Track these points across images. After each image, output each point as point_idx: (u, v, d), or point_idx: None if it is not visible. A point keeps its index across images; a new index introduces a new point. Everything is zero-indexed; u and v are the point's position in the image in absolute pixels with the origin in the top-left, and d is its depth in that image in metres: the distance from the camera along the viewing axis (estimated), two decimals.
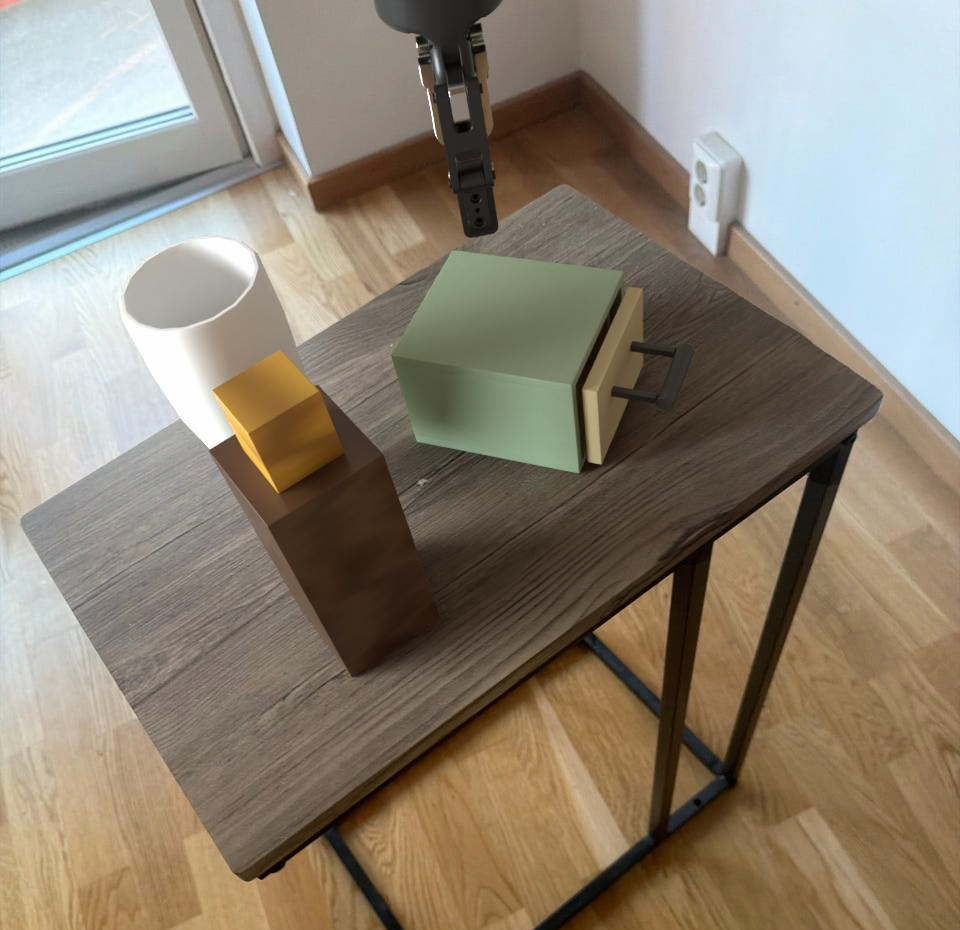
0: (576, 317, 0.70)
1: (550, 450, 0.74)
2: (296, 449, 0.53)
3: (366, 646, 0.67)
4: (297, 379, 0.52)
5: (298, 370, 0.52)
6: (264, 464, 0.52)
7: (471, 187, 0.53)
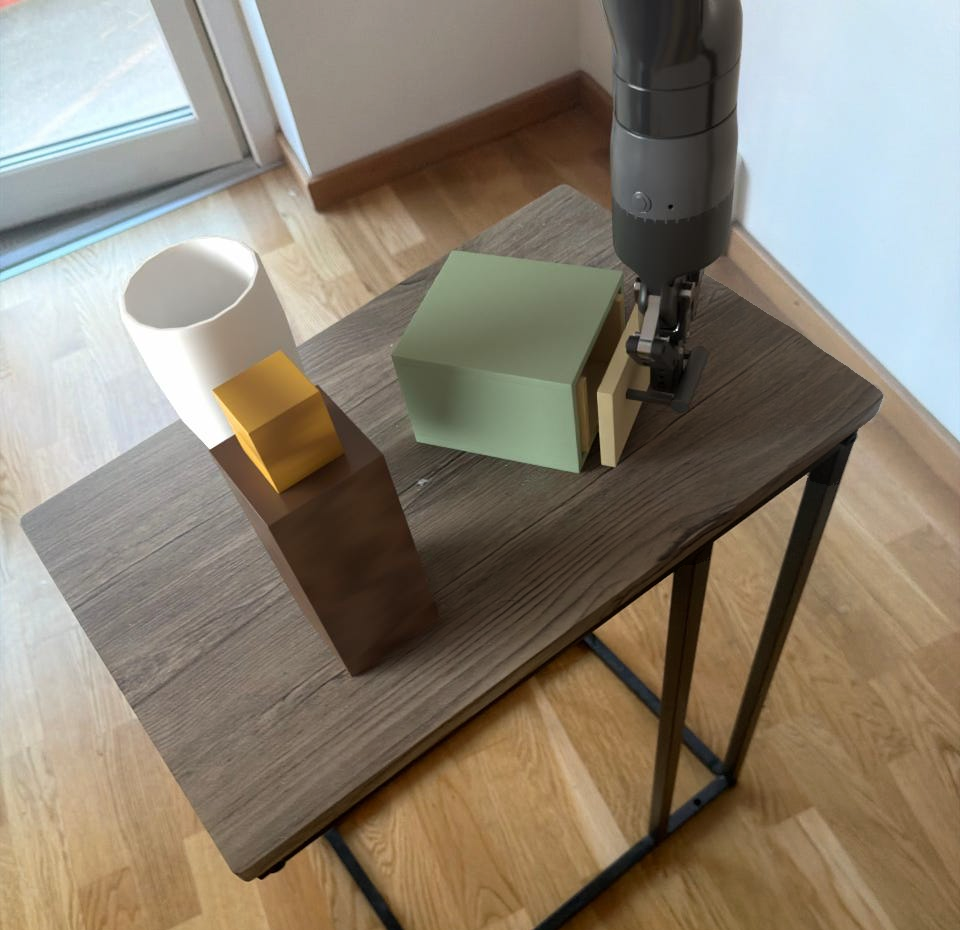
0: (576, 317, 0.70)
1: (550, 450, 0.74)
2: (296, 449, 0.53)
3: (366, 646, 0.67)
4: (297, 379, 0.52)
5: (298, 370, 0.52)
6: (264, 464, 0.52)
7: (653, 366, 0.66)
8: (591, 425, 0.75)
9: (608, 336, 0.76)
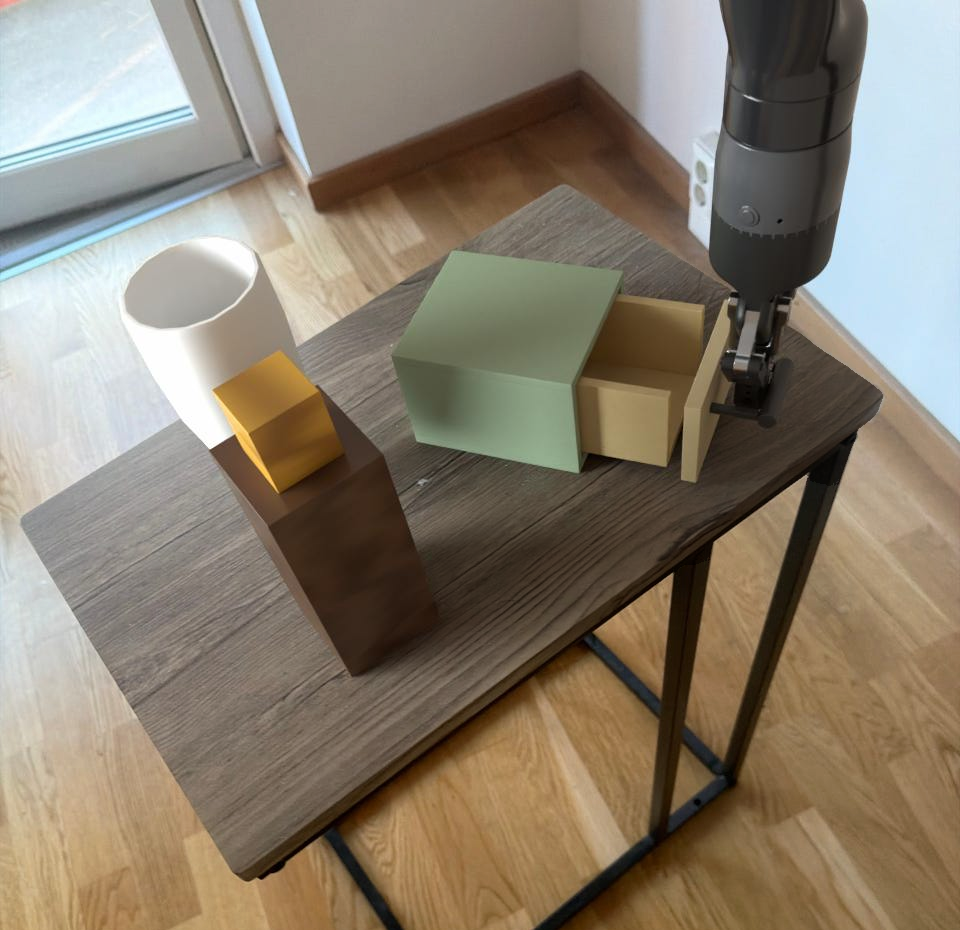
0: (576, 317, 0.70)
1: (550, 450, 0.74)
2: (296, 449, 0.53)
3: (366, 646, 0.67)
4: (297, 379, 0.52)
5: (298, 370, 0.52)
6: (264, 464, 0.52)
7: (743, 382, 0.65)
8: (669, 439, 0.73)
9: (686, 347, 0.74)
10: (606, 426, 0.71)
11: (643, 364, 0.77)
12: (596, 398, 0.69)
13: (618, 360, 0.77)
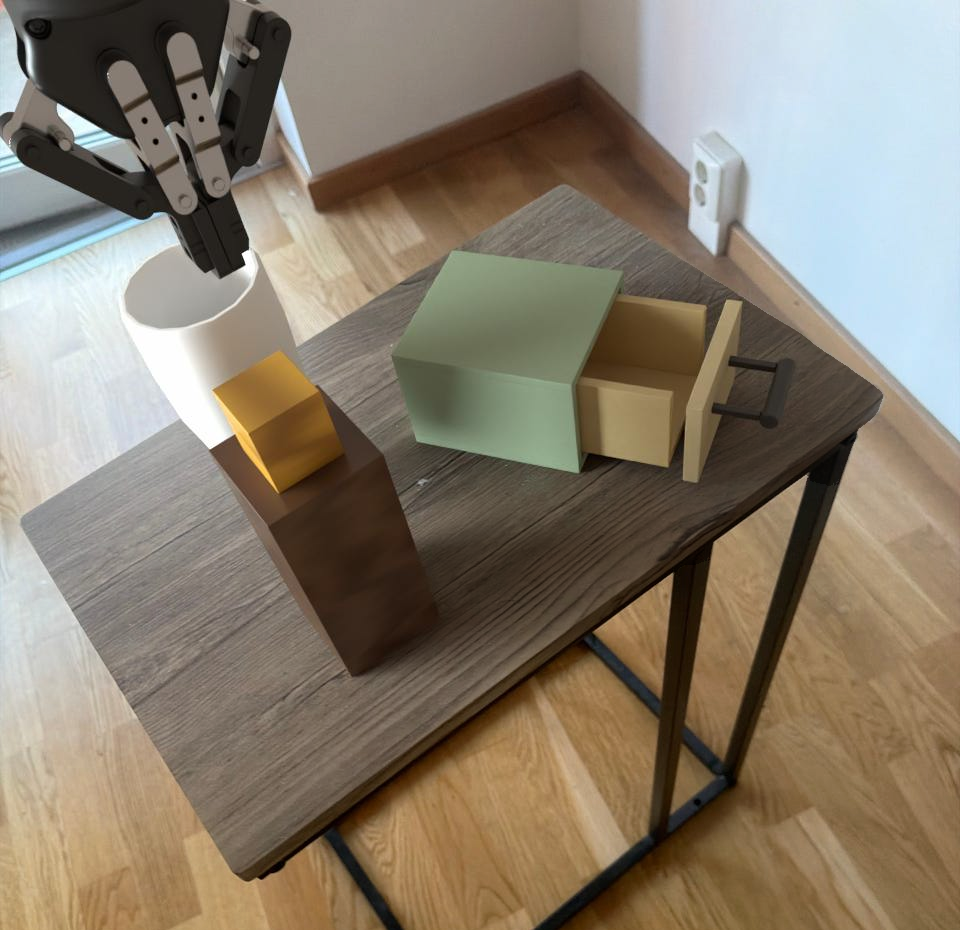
0: (576, 317, 0.70)
1: (550, 450, 0.74)
2: (296, 449, 0.53)
3: (366, 646, 0.67)
4: (297, 379, 0.52)
5: (298, 370, 0.52)
6: (264, 464, 0.52)
7: None
8: (671, 439, 0.73)
9: (688, 348, 0.74)
10: (608, 426, 0.71)
11: (645, 364, 0.77)
12: (598, 398, 0.69)
13: (620, 360, 0.77)
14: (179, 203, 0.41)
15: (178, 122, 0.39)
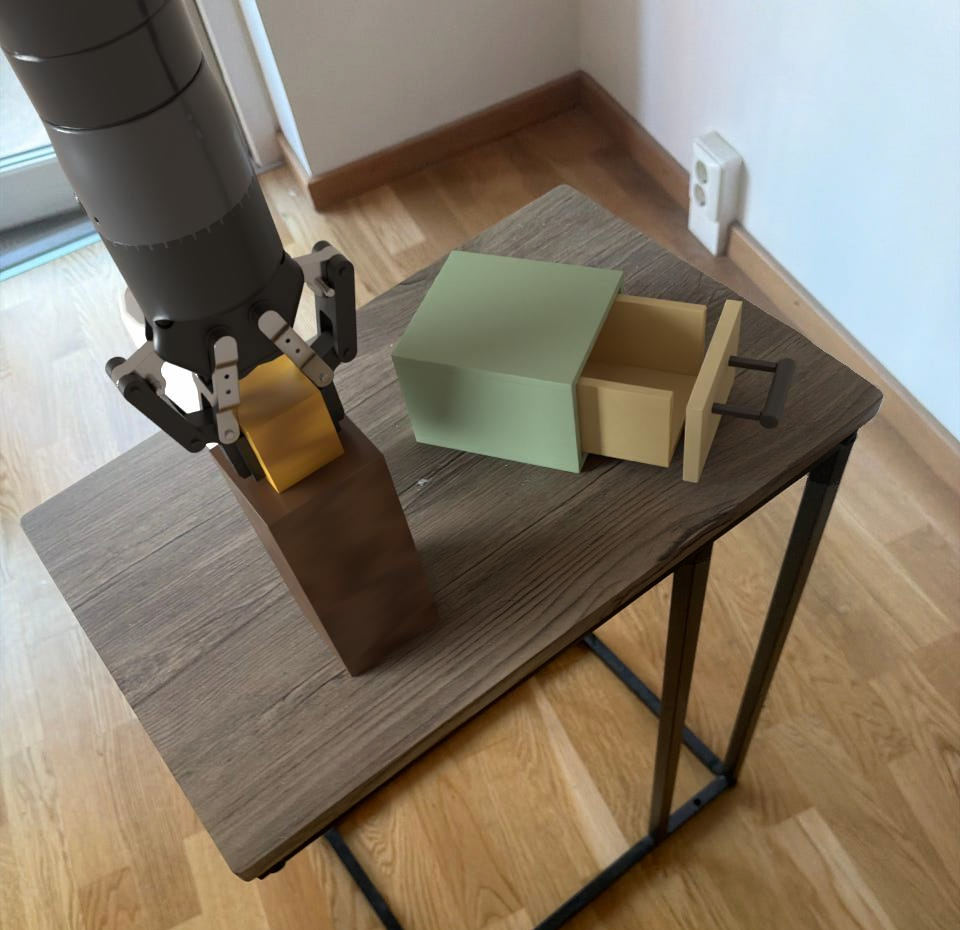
0: (576, 317, 0.70)
1: (550, 450, 0.74)
2: (296, 449, 0.53)
3: (366, 646, 0.67)
4: (298, 379, 0.52)
5: (298, 370, 0.52)
6: (264, 464, 0.52)
7: None
8: (671, 439, 0.73)
9: (688, 348, 0.74)
10: (608, 426, 0.71)
11: (645, 364, 0.77)
12: (598, 398, 0.69)
13: (620, 360, 0.77)
14: (225, 437, 0.51)
15: None
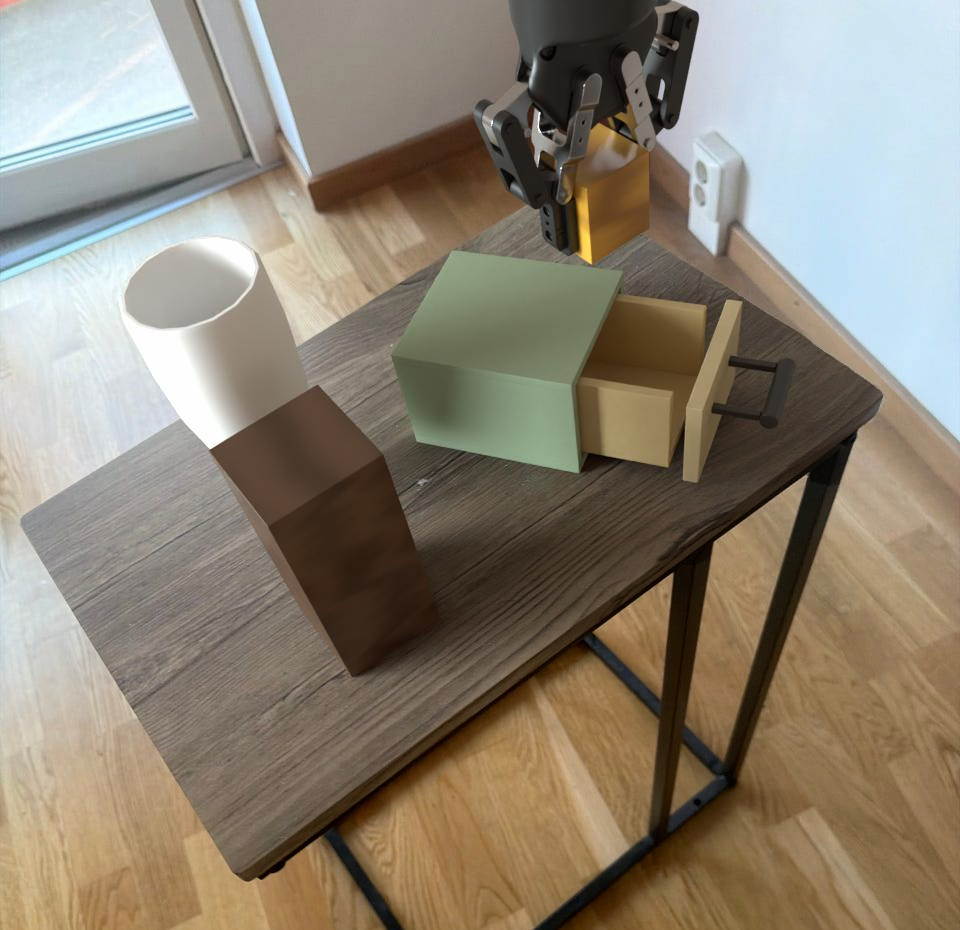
0: (576, 317, 0.70)
1: (550, 450, 0.74)
2: (616, 216, 0.55)
3: (366, 646, 0.67)
4: (623, 143, 0.54)
5: (621, 136, 0.54)
6: (589, 227, 0.54)
7: (517, 196, 0.52)
8: (671, 439, 0.73)
9: (688, 348, 0.74)
10: (608, 426, 0.71)
11: (645, 364, 0.77)
12: (598, 398, 0.69)
13: (620, 360, 0.77)
14: (562, 195, 0.53)
15: None
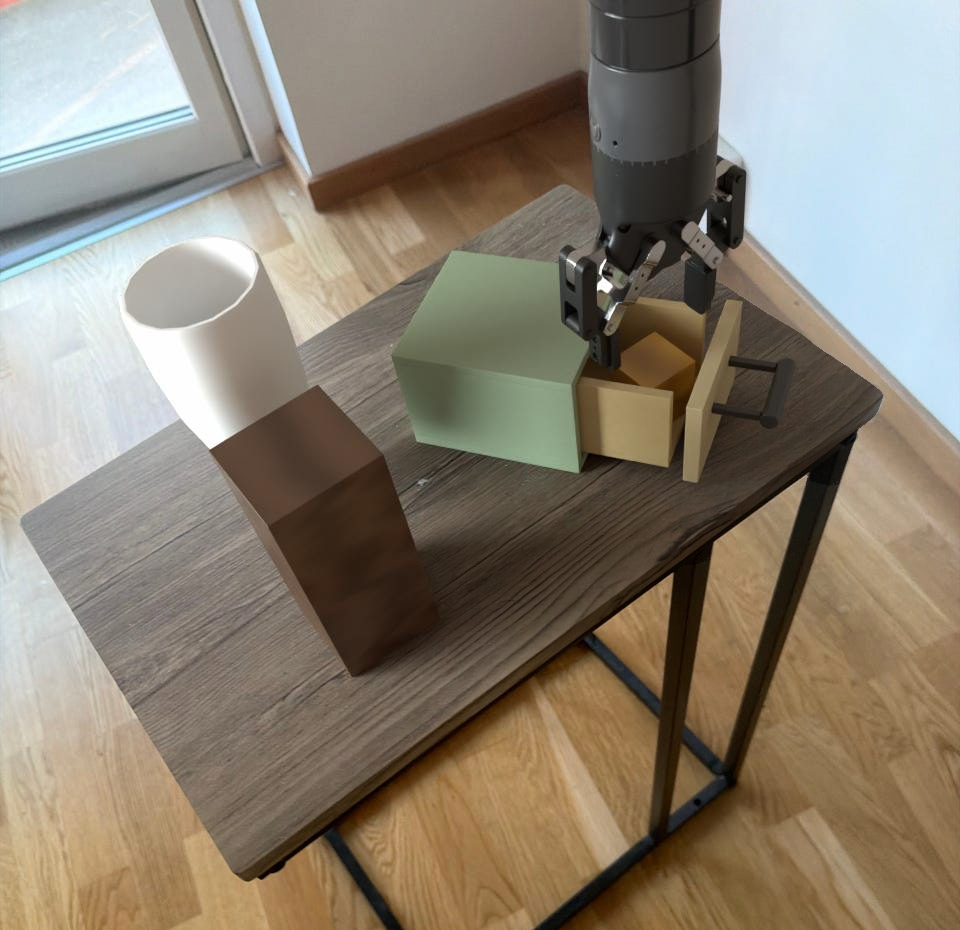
0: None
1: (550, 450, 0.74)
2: None
3: (366, 646, 0.67)
4: (675, 352, 0.70)
5: (674, 346, 0.71)
6: None
7: (571, 329, 0.63)
8: (671, 439, 0.73)
9: (688, 348, 0.74)
10: (608, 426, 0.71)
11: None
12: (598, 398, 0.69)
13: None
14: (608, 329, 0.63)
15: (686, 247, 0.64)
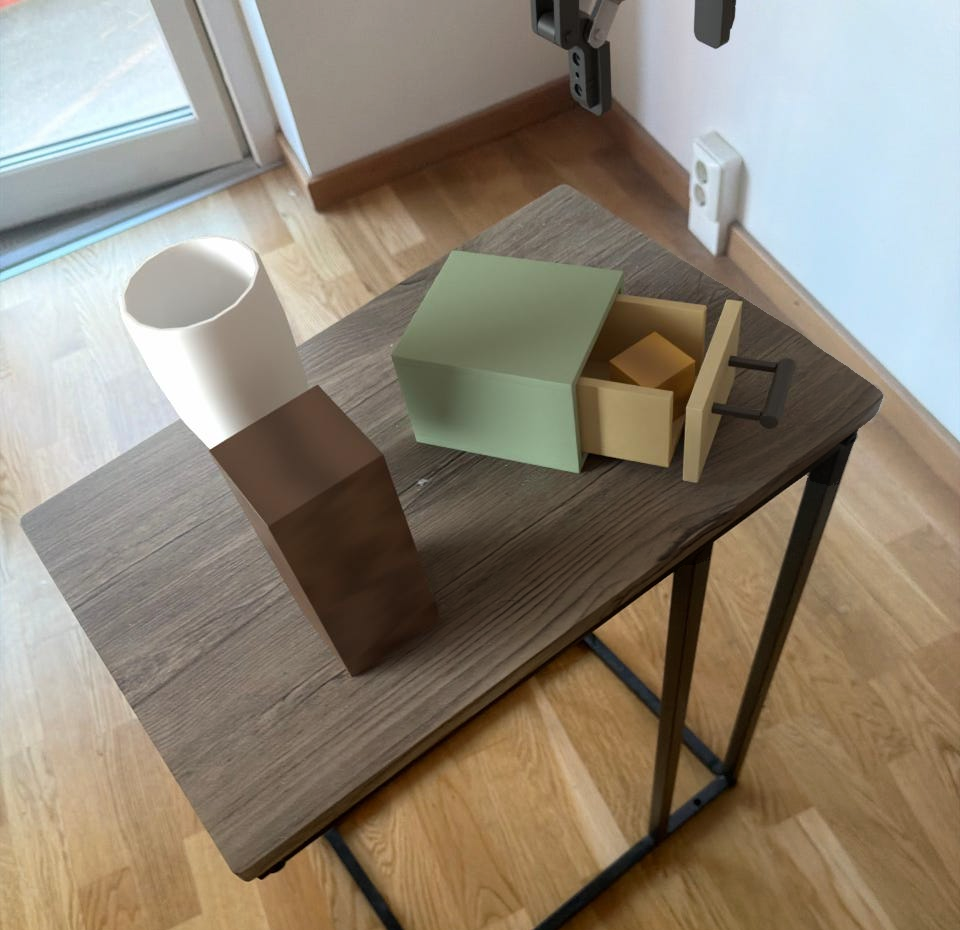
0: (576, 317, 0.70)
1: (550, 450, 0.74)
2: None
3: (366, 646, 0.67)
4: (675, 352, 0.70)
5: (674, 346, 0.71)
6: None
7: (545, 35, 0.47)
8: (671, 439, 0.73)
9: (688, 348, 0.74)
10: (608, 426, 0.71)
11: None
12: (598, 398, 0.69)
13: None
14: (595, 36, 0.47)
15: None
